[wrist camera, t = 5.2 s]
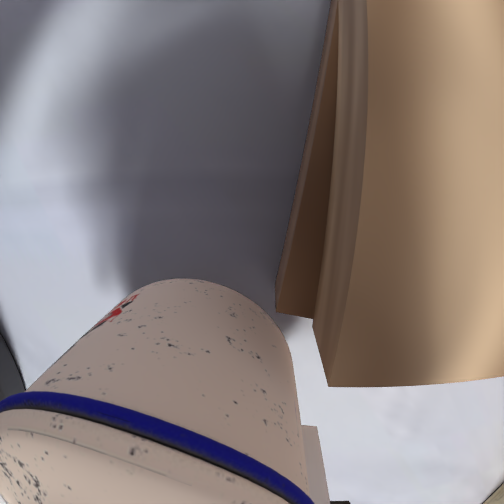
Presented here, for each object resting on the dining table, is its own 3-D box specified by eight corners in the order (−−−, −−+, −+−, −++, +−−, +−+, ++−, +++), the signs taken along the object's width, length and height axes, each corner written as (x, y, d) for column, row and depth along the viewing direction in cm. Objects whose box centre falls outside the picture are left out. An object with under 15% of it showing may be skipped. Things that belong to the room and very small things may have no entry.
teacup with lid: (116, 241, 13) (-146, 386, 1) (329, 307, 13) (451, 599, 1) (97, 435, 15) (13, 583, 4) (245, 482, 15) (231, 654, 4)
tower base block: (274, 281, 16) (275, 311, 12) (329, 2, 13) (342, -39, 9) (500, 322, 16) (536, 348, 12) (539, 99, 12) (578, 91, 9)
